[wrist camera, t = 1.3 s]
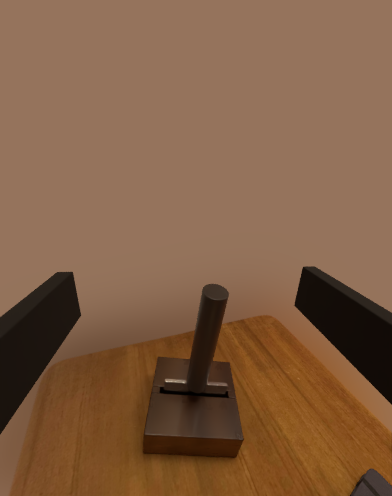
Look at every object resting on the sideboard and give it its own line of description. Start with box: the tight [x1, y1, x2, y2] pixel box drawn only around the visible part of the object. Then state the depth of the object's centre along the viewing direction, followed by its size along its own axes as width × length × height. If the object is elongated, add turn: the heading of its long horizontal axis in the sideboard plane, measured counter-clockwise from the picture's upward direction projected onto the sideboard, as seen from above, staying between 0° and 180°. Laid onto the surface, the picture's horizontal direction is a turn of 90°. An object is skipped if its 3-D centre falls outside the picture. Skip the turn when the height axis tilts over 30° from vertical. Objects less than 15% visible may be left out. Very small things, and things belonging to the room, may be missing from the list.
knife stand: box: [143, 357, 244, 457], centre depth 26 cm, size 11×9×4 cm
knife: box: [163, 284, 229, 398], centre depth 23 cm, size 8×3×20 cm, turn 91°
